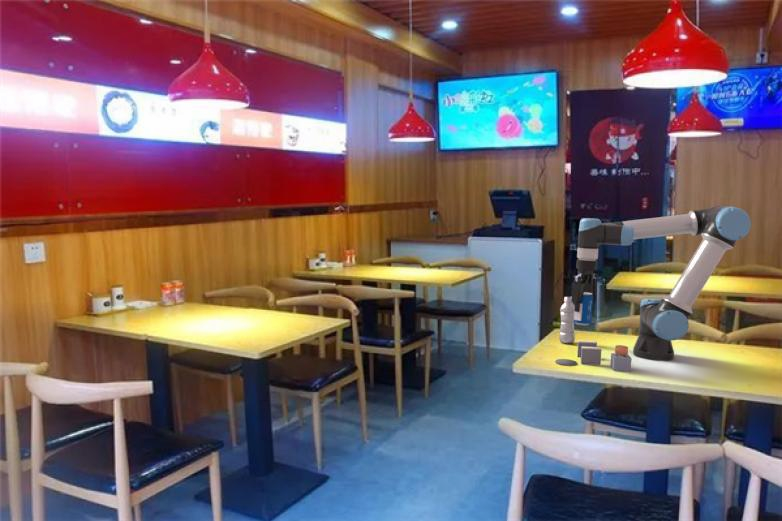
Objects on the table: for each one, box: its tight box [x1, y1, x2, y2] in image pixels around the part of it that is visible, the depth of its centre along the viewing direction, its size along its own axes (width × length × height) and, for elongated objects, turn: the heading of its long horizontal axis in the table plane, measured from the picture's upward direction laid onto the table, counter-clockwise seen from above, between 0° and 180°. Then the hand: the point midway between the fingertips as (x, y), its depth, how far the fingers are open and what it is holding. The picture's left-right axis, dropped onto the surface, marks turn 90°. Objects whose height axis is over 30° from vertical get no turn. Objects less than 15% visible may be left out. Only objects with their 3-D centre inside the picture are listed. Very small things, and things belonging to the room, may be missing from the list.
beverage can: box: [574, 291, 594, 326], centre depth 234 cm, size 6×6×12 cm
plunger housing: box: [610, 352, 632, 373], centre depth 226 cm, size 6×6×5 cm
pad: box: [554, 358, 578, 367], centre depth 233 cm, size 8×8×1 cm
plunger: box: [614, 344, 629, 357], centre depth 226 cm, size 4×4×7 cm
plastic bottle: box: [558, 296, 576, 344], centre depth 263 cm, size 6×7×20 cm
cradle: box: [576, 339, 602, 366], centre depth 236 cm, size 7×11×6 cm, turn 171°
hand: (582, 318), depth 234 cm, fingers closed on beverage can, 6 cm apart
